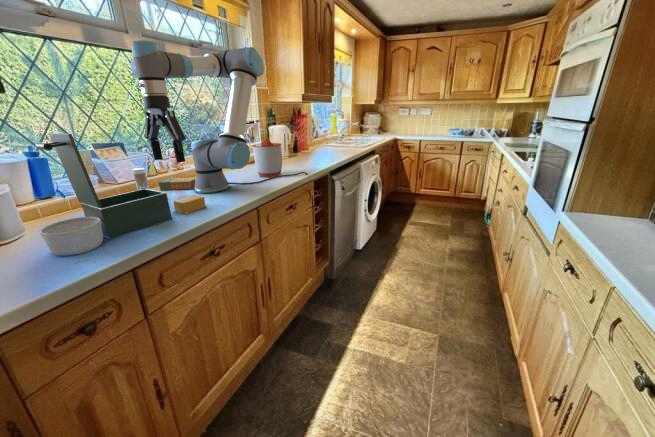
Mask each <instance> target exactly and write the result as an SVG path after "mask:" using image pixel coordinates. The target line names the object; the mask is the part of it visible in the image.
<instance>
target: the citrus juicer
mask: <svg viewBox="0 0 655 437" xmlns="http://www.w3.org/2000/svg"><path fill="white" fill-rule="evenodd" d="M252 151H253V158H254V165H255V168H256V171H257V174H258V175H259V177H262V178H272V177H275V176H280V175H281V174H282V170H283V152H282V143H280V142H271V141H270V140H269V139H268V138H266V139H264V140H263V142H261V145H259V146H258V145H255V144H252Z"/></svg>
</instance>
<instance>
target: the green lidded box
mask: <svg viewBox="0 0 655 437" xmlns="http://www.w3.org/2000/svg"><path fill="white" fill-rule="evenodd" d="M98 199H99V202H100V204H101V208H97V207H93V206H90V205H87V204H84V203H80V204H81V207H82V211H83V214H84V217H98V218H100V219H101V222H102V225H101V227H102V232H103V238H106V239H107V240H108V239H109V240H112V239H115V238H120V237H121V236H124V235H127V234H130V233H133V232H137V231H140V230H143V229H146V228H149V227H153V226H155V225H158V224H161V223H164V222H167V221H170V220H173V217H172V212H171V208H170V203H169V199H168V194H167V192H164V191H161V190H160V191H159V190H155V189H150V188H149V189H141V190H137V189H136V190H133V191H129V192H124V193H119V194H116V195H111V196H107V197H102V198H98Z"/></svg>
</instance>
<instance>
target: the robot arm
mask: <svg viewBox="0 0 655 437" xmlns="http://www.w3.org/2000/svg"><path fill="white" fill-rule="evenodd" d="M130 48H131V54H132V60H131V63H130V70H131V72H132V74H133V76H135V78H136V79H137V80H138V83H139V84H138V86H139V88H140V91H141V95H143V96H142V101H143V105H144V108H145V109H147V110H148V109H149V111H144V118H145V120H144V121H145V122H144V125H145V126H144V139H145V140H148V141H149V142H150V147H151V151H152V155H153V160H154V161H160V160H164V158H163V153H162V149H161V148H162V147H161V143H160V141H159V138H158V137H159V132H160V128H161V127H163V128H164V129H165V130H166V132H167V133H168V135H169V136H170V138H171V139H172V142H171V143H172V147H173V152H174V156H175V161H176V163H177V164H179V163H185V162H186V158H185V152H184V146H183V141H186V139H187V138H186V135H185V133H184V131H183V129H182V127H181V125H180V122H179V121H178V119H177V116H176V112H175V111H174V110H168V109H169V108H171V104H170V103H171V102H170V98H169V96H168V94H169V93H168V87H167V83H166V80H167V79H189V78H193V77H207V76H208V77H209V78H211V79H212V78H223V79H231V86H230V92H229V99H228V104H227V110H226V116H225V123H224V128H223V132H221V133H220V134H219V136H218V138H217V137H213V138H206V139H200V140H194V141H192V142H191V144H190V145H191V147H190V148H191V155H192V160H193V164H194V169H195V177H196V179H195V188H194V192H195V193H196V194H197V193H198V194H212V193H213V194H214V193H219V192H223V191H226V190H229V189H230V185H254V184H255V185H256V184H260V183H264V182H266V181H270V180H273V179H277V178H282V177H293V176H298V175H301V174H305V175H309V173H308V172H306V171H299V172H297V173H292V174H282V175H281V174H280V175H278V176H272V177H267V178H265V179H263V180H259V181H252V182H228V180H227V177H226V176H225V173H224V171H223V169H227V170H240V169H243V168H245V167H246V166H247V165H248V163H249V162H250V158H251V151H250V147H249V145H248V143H247V139H246V138H245V132H246V126H247V119H248V114H249V106H250V101H251V95H252V89H253V86H256V85H257V81H258V78H259V77H262V75H263V74H264V73H265V72H264V71H265V64H264V63H265V62H264V60H263V57H262V55H261V54H260V52H259V50H258V49H256V48H255V47H253V46H245V47H242V48H233V49H231V48H230V49H225V50H221V51H217V52H213V53H212V52H211V53H205V54H204V55H185V54H181V53H179V52H178V53H177V52H176V53H175V52H168V51H162V50H160V48H159V45H158V43H157V42H156V41H152V40H145V39H136V40H133V41H132V42H131V43H130ZM314 209H315V208H314V195H312V194H311V210H312V211H311V213H312V214H311V215H312V216H311V217H312V234H313V236H315V235H316V234H315V214H314V212H315V211H314Z"/></svg>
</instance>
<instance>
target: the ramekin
mask: <svg viewBox="0 0 655 437" xmlns="http://www.w3.org/2000/svg"><path fill="white" fill-rule="evenodd" d="M101 225H102V222H101V219H100V218H98V217H85V216H82V217H81V216H80V217H73V218H68V219H63V220H59V221H57V222H56V221H55V222H53V223H50V224H48V225H46V226H44V227H42V228H41V229H40V230H39V236H40V237H41V238H42V239H43V241H44V243H45V244H46V246H47V248H48V249H49V251H50V252H51V253H52V254H54V255H56V256H59V257H65V256H67V257H68V256H74V255H79V254H84V253H86V252H90V251H92V250H95V249H96V248H98V247H100V246H101V244H102V243H103V241H104V237H103V232H102V227H101Z"/></svg>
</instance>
